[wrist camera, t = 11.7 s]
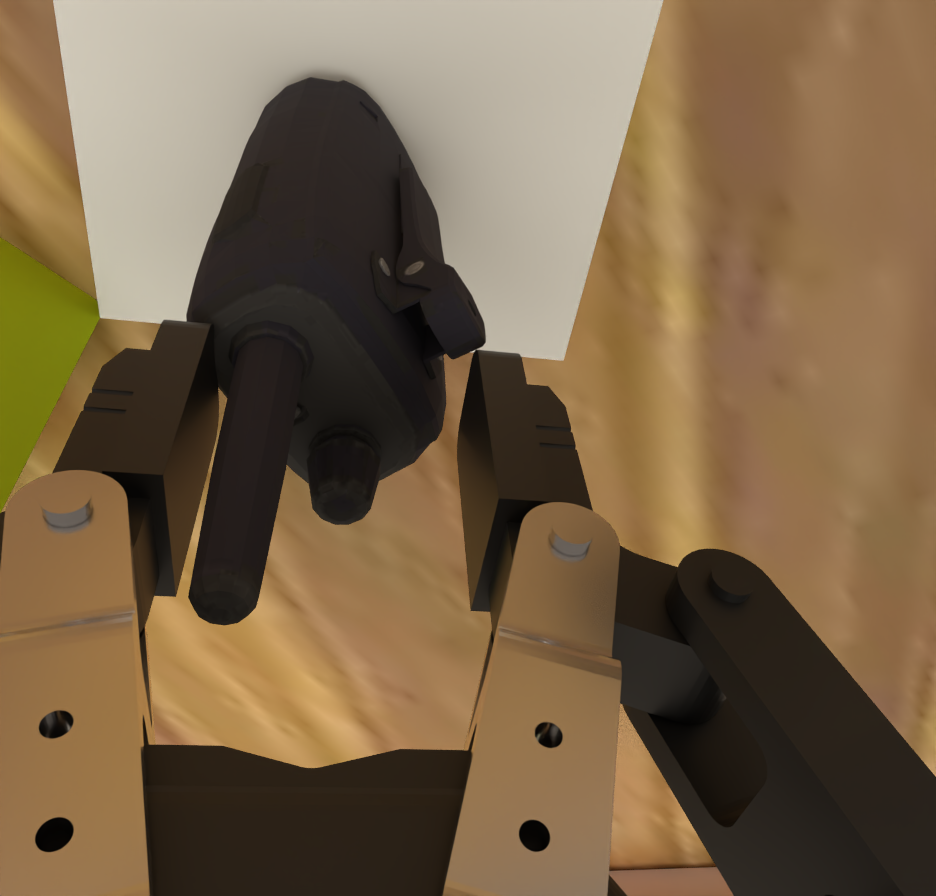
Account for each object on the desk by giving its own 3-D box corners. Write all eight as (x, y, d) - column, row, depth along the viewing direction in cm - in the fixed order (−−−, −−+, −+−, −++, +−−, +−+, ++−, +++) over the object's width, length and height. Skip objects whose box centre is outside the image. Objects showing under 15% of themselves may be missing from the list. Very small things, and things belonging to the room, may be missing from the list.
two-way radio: (227, 101, 20) (2, 571, 8) (389, 8, 19) (388, 396, 7) (347, 283, 23) (306, 799, 12) (491, 212, 22) (602, 702, 11)
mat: (677, -82, 19) (685, -78, 19) (560, 350, 27) (563, 360, 26) (33, -201, 17) (24, -199, 16) (105, 307, 24) (100, 317, 24)
